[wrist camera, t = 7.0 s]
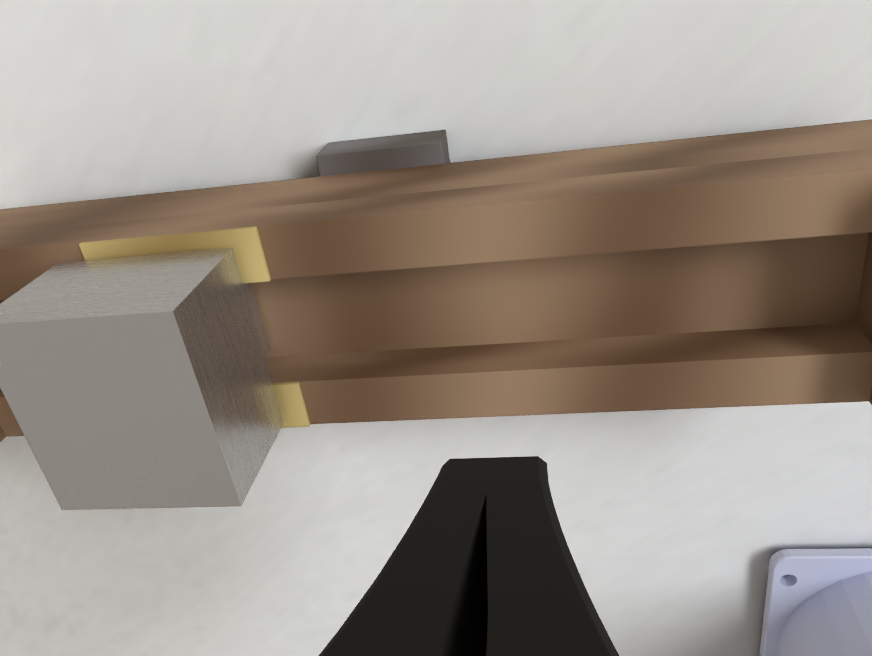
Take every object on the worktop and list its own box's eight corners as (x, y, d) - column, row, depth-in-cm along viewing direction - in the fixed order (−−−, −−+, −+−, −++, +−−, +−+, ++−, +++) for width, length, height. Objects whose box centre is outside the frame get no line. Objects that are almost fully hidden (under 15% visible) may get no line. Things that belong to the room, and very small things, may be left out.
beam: (865, 83, 16) (1006, 152, 11) (833, 319, 19) (934, 455, 14) (-1, 179, 20) (-175, 262, 15) (79, 364, 23) (-45, 483, 18)
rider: (255, 223, 16) (173, 311, 12) (301, 388, 18) (241, 506, 14) (93, 237, 17) (-31, 325, 13) (154, 395, 19) (62, 509, 15)
